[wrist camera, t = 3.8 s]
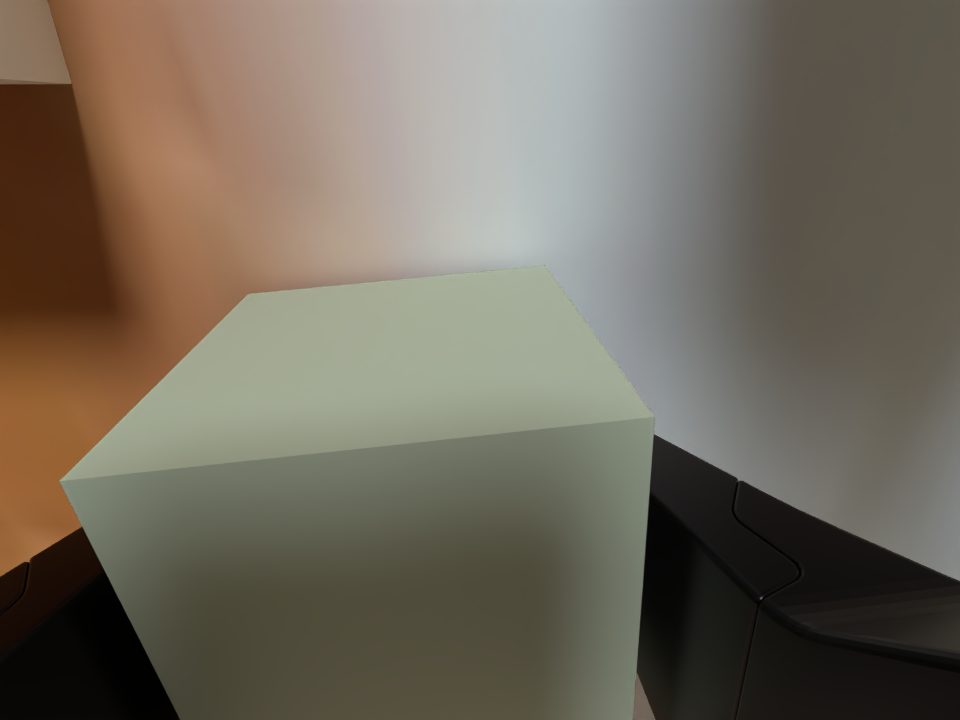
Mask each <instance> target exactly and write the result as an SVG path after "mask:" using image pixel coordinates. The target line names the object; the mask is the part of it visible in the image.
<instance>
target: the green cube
mask: <svg viewBox="0 0 960 720" xmlns="http://www.w3.org/2000/svg"><path fill="white" fill-rule="evenodd" d="M654 423H655V416H654V415H653V413H652V412H651V411H650V409H649V408H648V407H647V405H646V404H645V402H644V401H643V400H642V398H641V397H640V395H639V394H638V393H637V391H636V390H635V389H634V387H633V386H632V384H631V383H630V382H629V380H628V379H627V378H626V376H625V375H624V373H623V372H622V371H621V369H620V368H619V366H618V365H617V364H616V362H615V361H614V360H613V358H612V357H611V355H610V354H609V353H608V351H607V350H606V349H605V347H604V346H603V344H602V343H601V342H600V340H599V339H598V337H597V336H596V335H595V333H594V332H593V331H592V329H591V328H590V326H589V325H588V324H587V322H586V321H585V319H584V318H583V317H582V315H581V314H580V313H579V311H578V310H577V308H576V307H575V306H574V304H573V303H572V302H571V300H570V299H569V297H568V296H567V295H566V293H565V292H564V290H563V289H562V288H561V286H560V285H559V284H558V282H557V281H556V279H555V278H554V277H553V275H552V274H551V273H550V271H549V270H548V268H547V267H546V266H545V265H544V266H534V267H523V268H513V269H503V270H492V271H482V272H471V273H461V274H451V275H440V276H430V277H419V278H409V279H399V280H388V281H378V282H368V283H357V284H347V285H336V286H326V287H316V288H305V289H295V290H284V291H274V292H264V293H253V294H248V295H247V296H246V297H245V298H244V299H243V300H242V301H241V302H240V303H239V304H238V305H237V306H236V307H235V308H234V309H233V310H232V311H231V312H230V313H229V314H228V315H227V316H226V317H225V318H224V319H223V320H222V321H220V322H219V323H218V324H217V325H216V326H215V327H214V328H213V329H212V330H211V331H210V332H209V333H208V334H207V335H206V336H205V337H204V338H203V339H202V340H201V341H200V342H199V343H198V344H197V345H196V346H195V347H194V348H193V349H192V350H191V351H190V352H189V353H188V354H187V355H186V356H185V357H184V358H183V359H182V360H181V361H180V362H179V363H178V364H177V365H176V366H175V367H174V368H173V369H172V370H171V371H170V372H169V373H168V374H167V375H166V376H165V377H164V378H163V379H162V380H161V381H160V382H159V383H158V384H157V385H156V386H155V387H154V388H153V389H152V390H151V391H150V392H149V393H148V394H147V395H146V396H145V397H144V398H143V399H142V400H141V401H140V402H139V403H138V404H137V405H136V406H135V407H134V408H133V409H132V410H131V411H130V412H129V413H128V414H127V415H126V416H125V417H124V418H123V419H122V420H121V421H120V422H119V423H118V424H117V425H116V426H115V427H114V428H113V429H112V430H111V431H110V432H109V433H108V434H106V435H105V436H104V437H103V438H102V439H101V440H100V441H99V442H98V443H97V444H96V445H95V446H94V447H93V448H92V449H91V450H90V451H89V452H88V453H87V454H86V455H85V456H84V457H83V458H82V459H81V460H80V461H79V462H78V463H77V464H76V465H75V466H74V467H73V468H72V469H71V470H70V471H69V472H68V473H67V474H66V475H65V476H64V477H63V478H62V479H61V480H60V481H59V482H60V483H61V485H62V487H63V489H64V491H65V493H66V495H67V497H68V499H69V501H70V503H71V505H72V507H73V509H74V511H75V513H76V515H77V517H78V519H79V521H80V523H81V525H82V527H83V529H84V531H85V533H86V535H87V537H88V539H89V541H90V543H91V545H92V547H93V549H94V551H95V553H96V555H97V556H98V558H99V560H100V562H101V564H102V566H103V568H104V570H105V572H106V574H107V576H108V578H109V580H110V582H111V584H112V586H113V588H114V590H115V592H116V594H117V596H118V598H119V600H120V602H121V604H122V606H123V608H124V610H125V612H126V614H127V616H128V618H129V620H130V622H131V624H132V626H133V628H134V629H135V631H136V633H137V635H138V637H139V639H140V641H141V643H142V645H143V647H144V649H145V651H146V653H147V655H148V657H149V659H150V661H151V663H152V665H153V667H154V669H155V671H156V673H157V675H158V677H159V679H160V681H161V683H162V685H163V687H164V689H165V691H166V693H167V695H168V697H169V699H170V700H171V702H172V704H173V706H174V708H175V710H176V712H177V714H178V716H179V718H180V720H633V711H634V697H635V683H636V670H637V656H638V642H639V629H640V615H641V601H642V587H643V574H644V560H645V546H646V532H647V519H648V505H649V491H650V478H651V464H652V450H653V436H654Z"/></svg>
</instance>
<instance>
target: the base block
mask: <svg viewBox="0 0 960 720" xmlns="http://www.w3.org/2000/svg"><path fill="white" fill-rule="evenodd" d="M0 84H72V83H71V80H70V76H69V73H68V69H67V66H66V63H65V59H64V56H63V52H62V49H61V46H60V42H59V39H58V35H57V32H56V29H55V25H54V22H53V18H52V15H51V11H50V8H49V5H48V1H47V0H0Z"/></svg>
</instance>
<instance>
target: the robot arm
mask: <svg viewBox="0 0 960 720" xmlns="http://www.w3.org/2000/svg"><path fill="white" fill-rule="evenodd" d="M636 671H637V674H638V676H639V679H640V681H641V684H642V686H643V689H644V691H645V694H646V696H647V699H648V701H649V704H650V707H651V709H652V712H653V714H654V717H655V719H656V720H960V581H958V580H956V579H953V578H951V577H948V576H946V575H944V574H942V573H939V572H937V571H935V570H933V569H930V568H928V567H926V566H923V565H921V564H919V563H917V562H914V561H912V560H910V559H908V558H905V557H903V556H901V555H899V554H896V553H894V552H892V551H890V550H887V549H885V548H883V547H880V546H878V545H876V544H874V543H871V542H869V541H867V540H865V539H862V538H860V537H858V536H856V535H853V534H851V533H849V532H847V531H844V530H842V529H840V528H838V527H835V526H833V525H831V524H829V523H827V522H824V521H822V520H820V519H818V518H816V517H814V516H811V515H809V514H807V513H805V512H803V511H800V510H798V509H796V508H794V507H792V506H790V505H788V504H786V503H784V502H782V501H780V500H778V499H776V498H774V497H772V496H770V495H768V494H767V493H765V492H763V491H761V490H759V489H757V488H755V487H753V486H751V485H749V484H748V483H746V482H744V481H739V482H738V479H737V478H736V477H734V476H732V475H730V474H728V473H726V472H725V471H723V470H721V469H719V468H717V467H715V466H713V465H711V464H709V463H708V462H706V461H704V460H702V459H700V458H698V457H696V456H694V455H692V454H690V453H689V452H687V451H685V450H683V449H681V448H679V447H677V446H675V445H673V444H672V443H670V442H668V441H666V440H664V439H662V438H660V437H658V436H656V435H655V434H654V436H653V450H652V464H651V478H650V491H649V505H648V519H647V532H646V546H645V560H644V574H643V587H642V601H641V615H640V629H639V642H638V656H637V670H636ZM0 720H180V718H179V716H178V714H177V712H176V710H175V708H174V706H173V704H172V702H171V700H170V699H169V697H168V695H167V693H166V691H165V689H164V687H163V685H162V683H161V681H160V679H159V677H158V675H157V673H156V671H155V669H154V667H153V665H152V663H151V661H150V659H149V657H148V655H147V653H146V651H145V649H144V647H143V645H142V643H141V641H140V639H139V637H138V635H137V633H136V631H135V629H134V628H133V626H132V624H131V622H130V620H129V618H128V616H127V614H126V612H125V610H124V608H123V606H122V604H121V602H120V600H119V598H118V596H117V594H116V592H115V590H114V588H113V586H112V584H111V582H110V580H109V578H108V576H107V574H106V572H105V570H104V568H103V566H102V564H101V562H100V560H99V558H98V556H97V555H96V553H95V551H94V549H93V547H92V545H91V543H90V541H89V539H88V537H87V535H86V533H85V531H84V529H83V527H81V528H79V529H78V530H76V531H74V532H73V533H71V534H69V535H68V536H66V537H65V538H63V539H61V540H60V541H58V542H56V543H55V544H53V545H51V546H50V547H48V548H47V549H45V550H43V551H42V552H40V553H38V554H37V555H35V556H33V557H32V558H31V559H30V562H23V563H22V564H20V565H18V566H17V567H15V568H14V569H12V570H10V571H9V572H7V573H5V574H4V575H2V576H1V577H0Z"/></svg>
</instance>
